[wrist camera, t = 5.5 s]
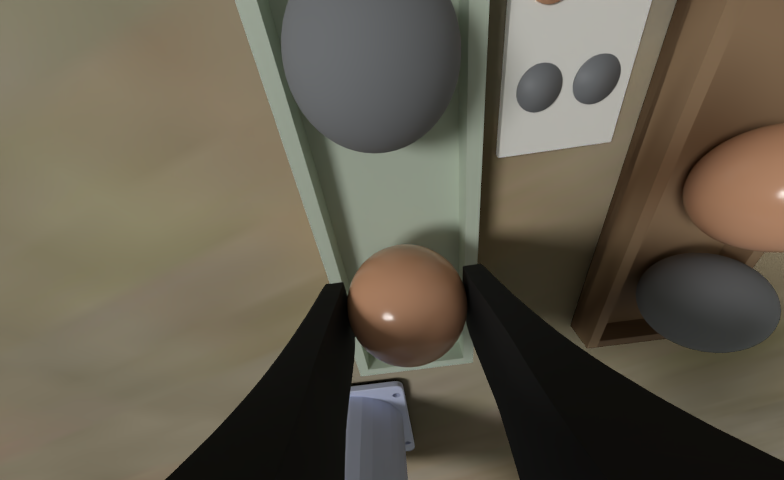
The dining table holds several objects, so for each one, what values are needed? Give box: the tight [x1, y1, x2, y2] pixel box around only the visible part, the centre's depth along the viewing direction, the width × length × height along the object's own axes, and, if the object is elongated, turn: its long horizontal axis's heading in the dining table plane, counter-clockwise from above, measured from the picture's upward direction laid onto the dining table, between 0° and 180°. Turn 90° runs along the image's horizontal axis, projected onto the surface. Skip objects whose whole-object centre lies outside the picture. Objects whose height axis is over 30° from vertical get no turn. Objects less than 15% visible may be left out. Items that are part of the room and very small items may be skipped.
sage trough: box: [235, 0, 652, 376], centre depth 11 cm, size 18×11×2 cm, turn 7°
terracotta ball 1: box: [347, 244, 467, 367], centre depth 10 cm, size 4×4×4 cm
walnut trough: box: [571, 0, 784, 348], centre depth 11 cm, size 18×6×2 cm, turn 7°
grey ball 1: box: [281, 0, 461, 153], centre depth 7 cm, size 4×4×4 cm
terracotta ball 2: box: [683, 123, 784, 252], centre depth 9 cm, size 4×4×4 cm
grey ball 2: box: [636, 253, 781, 353], centre depth 12 cm, size 4×4×4 cm
